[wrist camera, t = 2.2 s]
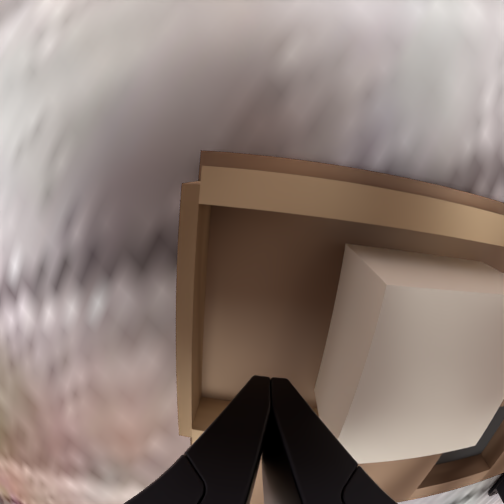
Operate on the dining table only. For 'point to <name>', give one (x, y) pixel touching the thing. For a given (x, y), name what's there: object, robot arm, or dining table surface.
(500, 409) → the deck
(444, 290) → the cream block
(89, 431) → the dining table surface
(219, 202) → the cubby
